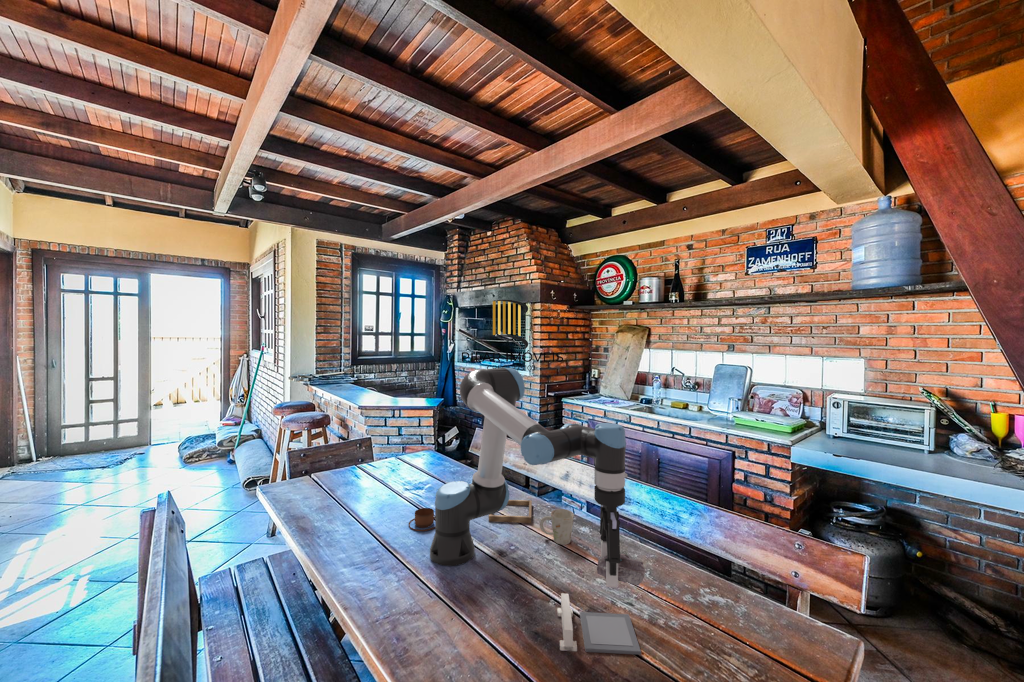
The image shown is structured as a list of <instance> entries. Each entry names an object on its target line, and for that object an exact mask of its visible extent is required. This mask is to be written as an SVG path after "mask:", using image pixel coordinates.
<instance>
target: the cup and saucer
mask: <svg viewBox="0 0 1024 682" xmlns="http://www.w3.org/2000/svg"><path fill="white" fill-rule="evenodd" d="M434 510H435V509H432V508H431V507H421V508H419V509H416V510H415V511H414V518H412V519H411V520H410V521H409V522H408V528H410V529H411V530H412V531H416V532H428V531H431V530H435V526H433V527H432V525H433V524H434V522H435V516H434V515H435V511H434ZM412 522H414V525H415V526H416V527H417V529H416V528H413V527H411V523H412ZM430 527H431V528H430ZM418 528H420V529H418ZM426 528H427V529H426Z"/></svg>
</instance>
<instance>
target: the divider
mask: <svg viewBox="0 0 1024 682" xmlns="http://www.w3.org/2000/svg"><path fill="white" fill-rule="evenodd" d="M570 603H571V602H570V596H569V593H564V592H562V593H560V607H557V608H556V609H557V610H556V611H557V617H561V628H562V638H563V640H562V639H561V640H559V650H560V651H561V652H562V651H567V652H578V645H577V640H574V638H573V637H574V626H573V621H572V620H573V619H572V618H573V615H574V612H573V608H571V604H570Z"/></svg>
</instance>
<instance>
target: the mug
mask: <svg viewBox="0 0 1024 682" xmlns="http://www.w3.org/2000/svg"><path fill="white" fill-rule="evenodd" d="M574 516H575V514H574V512H573V511H571V510H569V509H566V508H565V509H562V508H558V509H554V510H552V511H550V516H548V515H547V516H543V517H542V518H541V519H540V520H539V528H540V530H541V531H542V532H543V533H544V534H545V535H551V536H553V541H554V542H555V543H556V544H558V545H568V544H570V542H571V541H572V540H571V539H572V532H573V525H574ZM545 521H551V527H552V531H547V530H546V529H545V527H544V523H545Z"/></svg>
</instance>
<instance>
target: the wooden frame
mask: <svg viewBox="0 0 1024 682" xmlns="http://www.w3.org/2000/svg"><path fill="white" fill-rule="evenodd" d="M532 503H533V501H532V499H531V500H527V499H526V500H525V499H509V501H508V504H507V505H506V506H508V505H509V506H527V507H528V515H503V514H501V515H500V514H497V515H496V514H489V515H488V522H498V523H513V524H515V523H519V524H532V506H533V505H532Z"/></svg>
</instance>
